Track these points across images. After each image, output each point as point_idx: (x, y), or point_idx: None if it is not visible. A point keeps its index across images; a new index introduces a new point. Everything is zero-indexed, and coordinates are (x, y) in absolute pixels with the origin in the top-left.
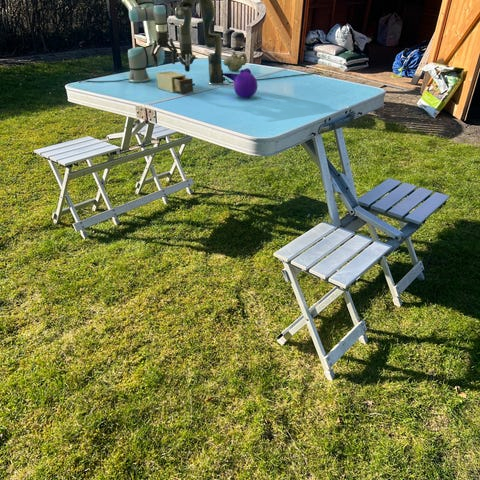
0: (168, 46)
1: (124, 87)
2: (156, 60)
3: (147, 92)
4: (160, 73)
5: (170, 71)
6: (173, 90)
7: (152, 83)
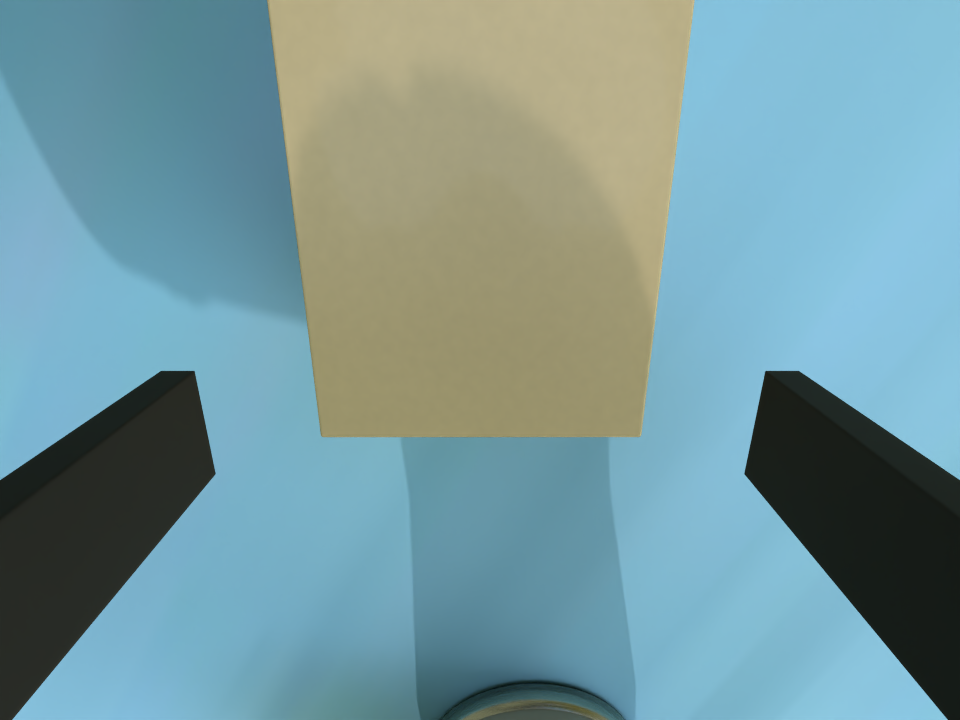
0: None
1: (827, 616)
2: (926, 465)
3: (862, 192)
4: (612, 350)
5: (336, 399)
6: None
7: (489, 599)
